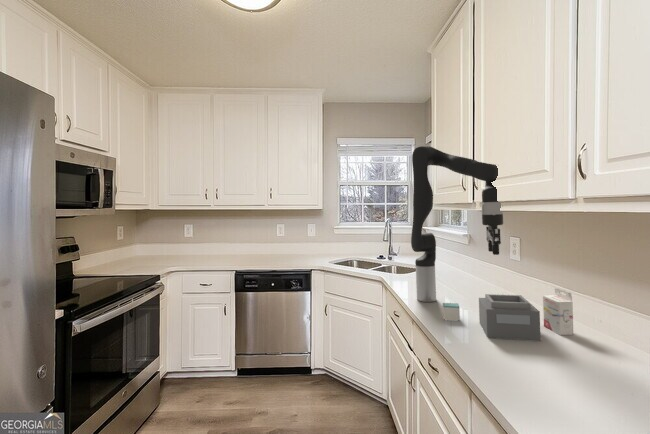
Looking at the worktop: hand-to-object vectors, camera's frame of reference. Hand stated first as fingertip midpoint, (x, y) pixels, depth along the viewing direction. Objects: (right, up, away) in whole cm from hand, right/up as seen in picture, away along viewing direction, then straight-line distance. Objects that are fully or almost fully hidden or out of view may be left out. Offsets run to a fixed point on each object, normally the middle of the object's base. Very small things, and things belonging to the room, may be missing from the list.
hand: (493, 253), depth 126 cm
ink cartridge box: (+15, -26, -15) cm, 34 cm away
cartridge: (-17, -27, 0) cm, 32 cm away
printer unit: (-3, -27, -14) cm, 30 cm away
